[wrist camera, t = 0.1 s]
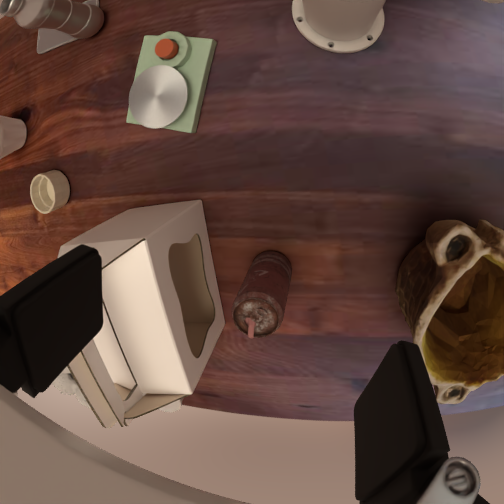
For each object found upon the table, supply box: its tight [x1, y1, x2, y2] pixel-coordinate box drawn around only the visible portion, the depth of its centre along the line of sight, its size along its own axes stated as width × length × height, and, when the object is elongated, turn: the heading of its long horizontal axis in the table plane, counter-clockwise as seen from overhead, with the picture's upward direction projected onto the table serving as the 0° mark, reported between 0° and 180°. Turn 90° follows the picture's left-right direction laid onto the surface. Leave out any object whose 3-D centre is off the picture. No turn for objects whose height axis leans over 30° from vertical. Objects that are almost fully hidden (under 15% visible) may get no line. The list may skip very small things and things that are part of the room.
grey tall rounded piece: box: [0, 0, 104, 39], centre depth 29 cm, size 6×7×20 cm
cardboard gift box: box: [58, 200, 225, 428], centre depth 39 cm, size 22×13×28 cm, turn 8°
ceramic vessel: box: [395, 219, 504, 404], centre depth 34 cm, size 23×24×25 cm
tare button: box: [155, 39, 178, 59], centre depth 35 cm, size 3×3×2 cm
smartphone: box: [37, 0, 99, 54], centre depth 38 cm, size 7×1×15 cm
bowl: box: [30, 170, 70, 214], centre depth 49 cm, size 7×7×5 cm
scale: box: [126, 32, 217, 133], centre depth 39 cm, size 14×11×4 cm
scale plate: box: [129, 65, 188, 129], centre depth 39 cm, size 9×9×1 cm
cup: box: [0, 116, 27, 159], centre depth 44 cm, size 10×10×9 cm
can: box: [232, 251, 292, 338], centre depth 42 cm, size 6×6×14 cm
